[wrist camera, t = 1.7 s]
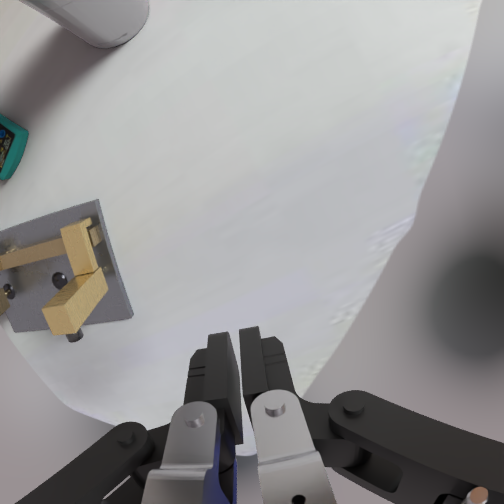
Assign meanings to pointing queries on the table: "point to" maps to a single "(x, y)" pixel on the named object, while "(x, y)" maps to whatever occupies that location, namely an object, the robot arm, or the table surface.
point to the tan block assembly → (37, 256)
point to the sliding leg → (76, 284)
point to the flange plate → (58, 270)
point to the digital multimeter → (10, 146)
